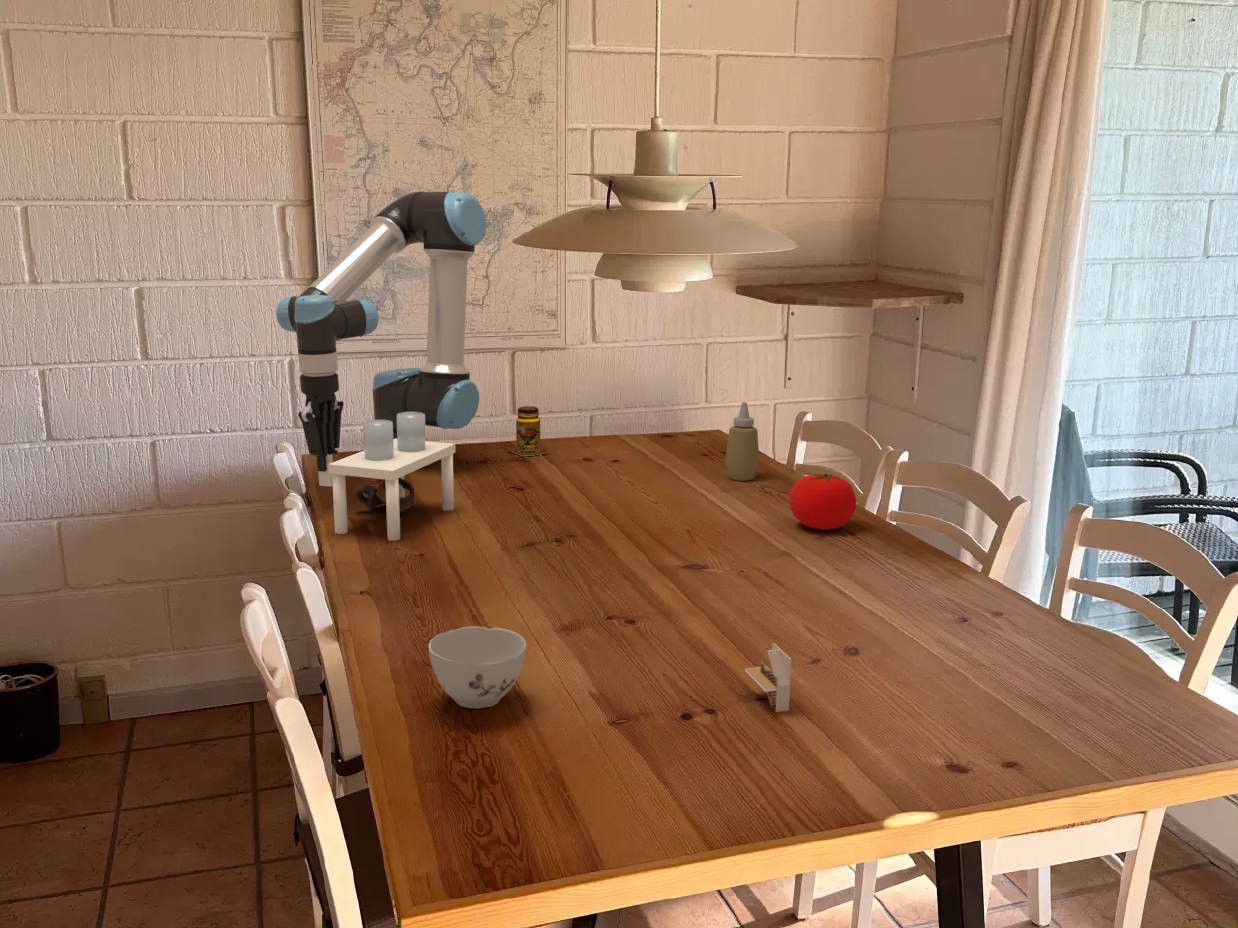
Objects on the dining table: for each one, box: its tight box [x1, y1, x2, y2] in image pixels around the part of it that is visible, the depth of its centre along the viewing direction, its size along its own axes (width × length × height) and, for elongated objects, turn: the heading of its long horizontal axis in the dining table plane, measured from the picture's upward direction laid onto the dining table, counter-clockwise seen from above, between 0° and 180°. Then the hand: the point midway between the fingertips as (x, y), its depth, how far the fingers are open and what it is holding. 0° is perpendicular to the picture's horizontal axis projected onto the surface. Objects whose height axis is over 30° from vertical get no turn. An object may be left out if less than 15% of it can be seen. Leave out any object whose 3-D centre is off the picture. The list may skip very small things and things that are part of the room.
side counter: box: [328, 439, 456, 542], centre depth 222 cm, size 25×14×14 cm, turn 161°
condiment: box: [515, 405, 542, 456], centre depth 282 cm, size 7×8×12 cm
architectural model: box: [744, 642, 793, 713], centre depth 145 cm, size 3×7×7 cm, turn 16°
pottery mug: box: [354, 478, 416, 516], centre depth 229 cm, size 12×10×8 cm
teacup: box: [428, 626, 527, 710], centre depth 145 cm, size 15×12×8 cm
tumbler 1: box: [362, 419, 394, 461], centre depth 216 cm, size 6×6×7 cm
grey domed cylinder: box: [397, 412, 426, 452], centre depth 224 cm, size 6×6×7 cm
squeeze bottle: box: [724, 402, 760, 482], centre depth 259 cm, size 8×8×18 cm
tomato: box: [788, 473, 857, 531], centre depth 222 cm, size 12×13×11 cm
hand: (327, 484), depth 231 cm, fingers closed
